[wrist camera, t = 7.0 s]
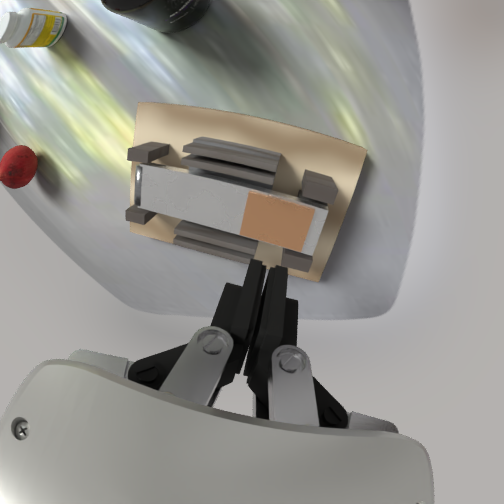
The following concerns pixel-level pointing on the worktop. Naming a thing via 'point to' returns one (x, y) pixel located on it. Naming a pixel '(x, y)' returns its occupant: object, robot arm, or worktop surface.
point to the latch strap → (230, 206)
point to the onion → (18, 167)
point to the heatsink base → (244, 176)
